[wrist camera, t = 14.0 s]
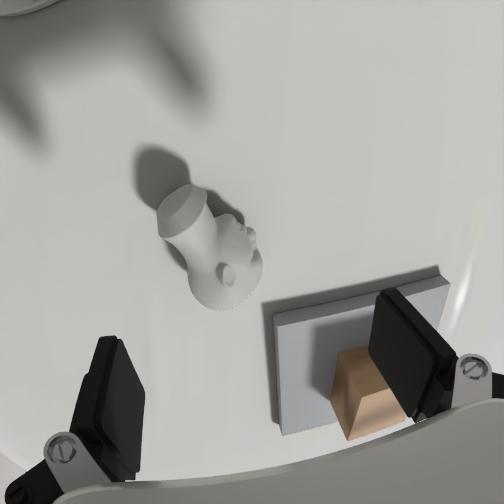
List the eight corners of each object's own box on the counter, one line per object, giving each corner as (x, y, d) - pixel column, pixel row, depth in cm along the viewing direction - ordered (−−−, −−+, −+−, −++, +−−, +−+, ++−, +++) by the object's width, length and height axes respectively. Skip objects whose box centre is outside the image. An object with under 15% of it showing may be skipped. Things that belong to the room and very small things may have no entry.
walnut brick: (338, 352, 25) (362, 397, 21) (398, 336, 26) (426, 374, 22) (329, 401, 28) (347, 441, 24) (383, 385, 29) (404, 421, 25)
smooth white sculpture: (258, 263, 23) (197, 302, 22) (212, 162, 19) (139, 203, 18) (290, 288, 20) (220, 335, 18) (241, 168, 16) (150, 220, 14)
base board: (272, 313, 24) (277, 326, 23) (440, 275, 26) (450, 283, 24) (279, 425, 31) (282, 435, 30) (406, 386, 33) (412, 395, 32)
